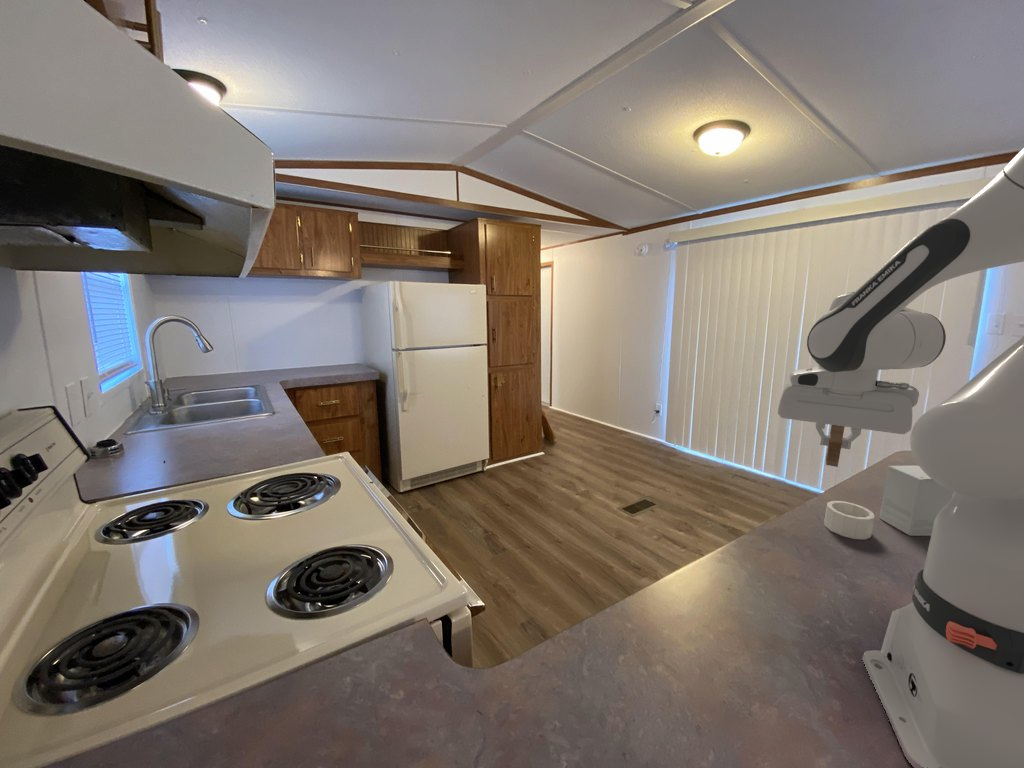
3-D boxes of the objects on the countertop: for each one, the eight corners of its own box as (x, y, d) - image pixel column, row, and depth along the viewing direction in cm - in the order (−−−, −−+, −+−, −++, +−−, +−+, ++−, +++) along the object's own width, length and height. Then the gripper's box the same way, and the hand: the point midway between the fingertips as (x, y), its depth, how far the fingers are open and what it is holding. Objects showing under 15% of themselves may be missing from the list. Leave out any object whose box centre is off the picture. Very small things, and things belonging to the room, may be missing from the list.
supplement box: (945, 536, 83) (958, 479, 81) (908, 536, 83) (920, 479, 81) (911, 517, 90) (922, 464, 88) (877, 517, 91) (887, 464, 88)
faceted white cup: (872, 543, 81) (876, 523, 80) (824, 531, 85) (827, 511, 84) (868, 526, 87) (871, 507, 86) (823, 516, 91) (826, 497, 90)
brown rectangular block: (837, 466, 79) (846, 418, 77) (826, 464, 80) (834, 416, 78) (836, 462, 82) (844, 414, 80) (825, 460, 83) (833, 413, 81)
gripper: (917, 381, 74) (902, 452, 77) (783, 370, 86) (775, 432, 89) (925, 387, 69) (909, 463, 72) (782, 375, 81) (773, 441, 84)
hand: (834, 446), depth 80 cm, fingers closed on brown rectangular block, 2 cm apart
